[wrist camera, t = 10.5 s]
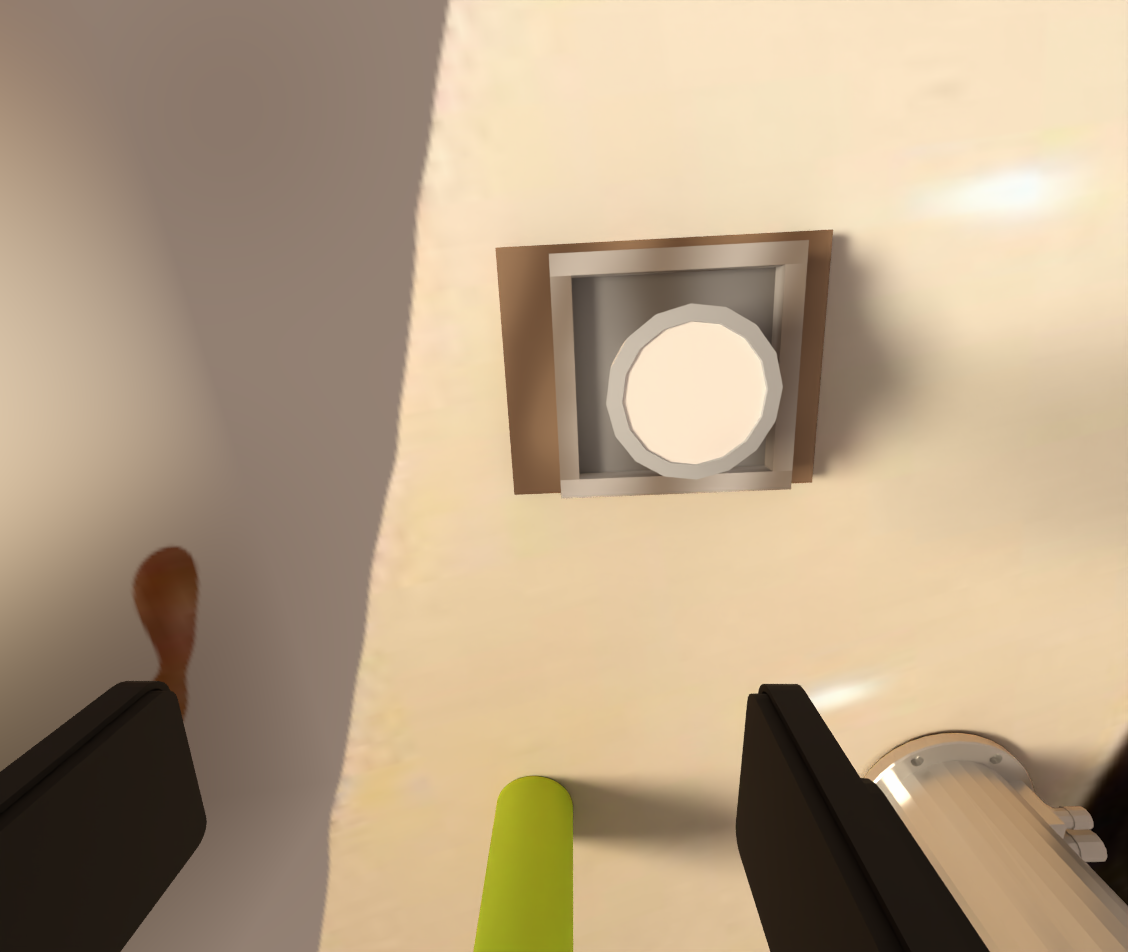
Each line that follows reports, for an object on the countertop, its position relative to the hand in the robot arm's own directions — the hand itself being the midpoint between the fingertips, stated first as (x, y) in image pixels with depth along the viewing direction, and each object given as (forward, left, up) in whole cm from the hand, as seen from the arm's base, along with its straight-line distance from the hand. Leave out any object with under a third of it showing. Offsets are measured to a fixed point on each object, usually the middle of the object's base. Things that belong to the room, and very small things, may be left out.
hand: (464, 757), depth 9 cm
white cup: (-7, -4, -21) cm, 22 cm away
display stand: (-7, -4, -25) cm, 26 cm away
